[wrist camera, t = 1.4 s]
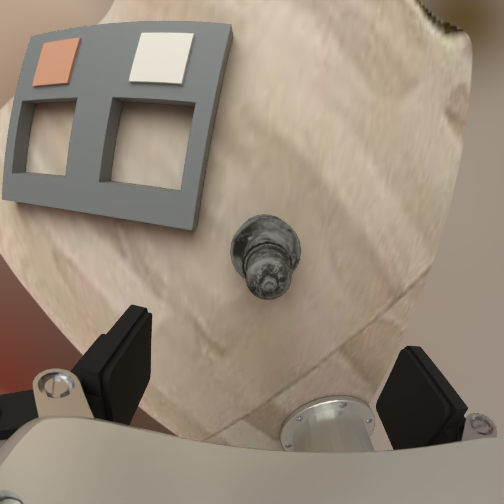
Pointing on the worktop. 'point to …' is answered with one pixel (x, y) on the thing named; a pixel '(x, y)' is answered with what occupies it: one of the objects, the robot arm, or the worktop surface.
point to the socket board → (117, 113)
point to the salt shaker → (266, 255)
